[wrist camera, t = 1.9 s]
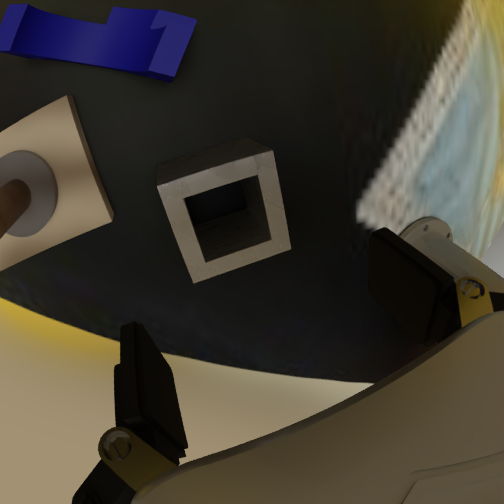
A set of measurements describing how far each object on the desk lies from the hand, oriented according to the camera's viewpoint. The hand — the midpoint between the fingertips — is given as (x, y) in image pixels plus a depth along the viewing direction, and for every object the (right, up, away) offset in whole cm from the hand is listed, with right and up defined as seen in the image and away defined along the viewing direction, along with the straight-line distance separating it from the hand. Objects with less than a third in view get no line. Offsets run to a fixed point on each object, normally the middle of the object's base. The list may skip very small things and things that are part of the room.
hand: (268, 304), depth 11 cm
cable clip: (-11, +17, +5) cm, 21 cm away
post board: (-18, +7, +7) cm, 21 cm away
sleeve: (-4, +7, +12) cm, 15 cm away
